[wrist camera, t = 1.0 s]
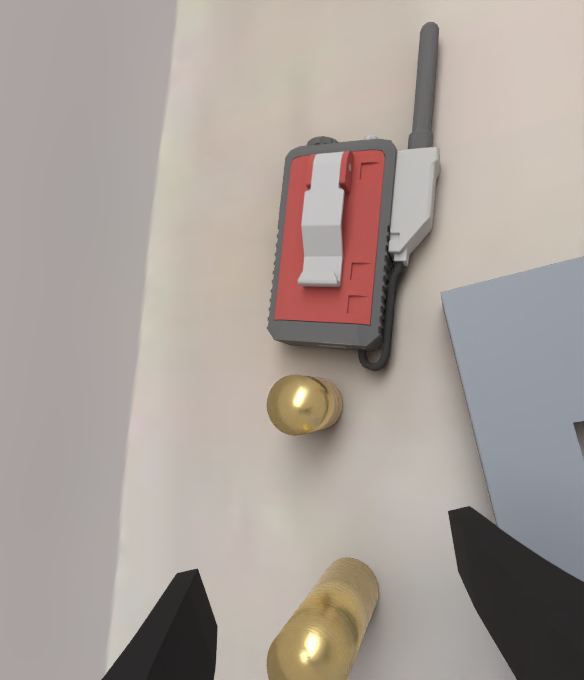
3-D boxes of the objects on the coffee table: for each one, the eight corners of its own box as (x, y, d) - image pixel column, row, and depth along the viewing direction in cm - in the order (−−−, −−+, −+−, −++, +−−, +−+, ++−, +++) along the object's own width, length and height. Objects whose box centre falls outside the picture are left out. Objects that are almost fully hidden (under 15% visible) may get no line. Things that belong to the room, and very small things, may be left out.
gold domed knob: (347, 425, 25) (328, 430, 21) (298, 433, 26) (272, 439, 22) (337, 373, 26) (317, 369, 22) (289, 383, 27) (262, 381, 23)
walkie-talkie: (424, 376, 24) (450, 38, 26) (417, 372, 20) (449, -28, 22) (278, 363, 28) (310, 62, 29) (246, 357, 23) (286, 7, 25)
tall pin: (384, 616, 23) (350, 719, 16) (329, 617, 24) (273, 715, 17) (372, 555, 24) (334, 627, 16) (319, 559, 25) (261, 629, 17)
